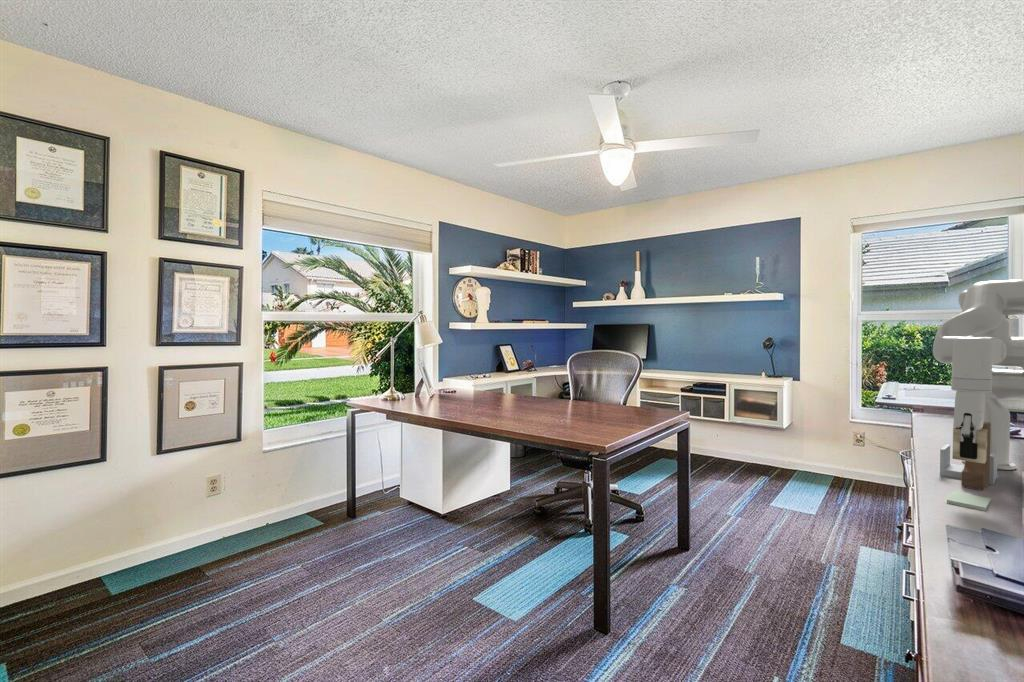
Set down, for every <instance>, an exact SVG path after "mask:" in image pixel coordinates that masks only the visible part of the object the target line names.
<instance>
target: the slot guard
mask: <svg viewBox="0 0 1024 682" xmlns="http://www.w3.org/2000/svg"><path fill="white" fill-rule="evenodd" d="M997 455H998V451H992V452H991V454H990V476H989V485H994V483H995V482H996V481H997V478H998V469H997ZM939 458H940V459H939V476H942V477H948V478H953V479H954V478H955V479H960V480H961V477H962V471H963V469H964V465H961V464H954V463H951V444H949V443H948V444H947V443H946V444H944V445H943V446H942V447H941V448H940V453H939Z"/></svg>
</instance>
